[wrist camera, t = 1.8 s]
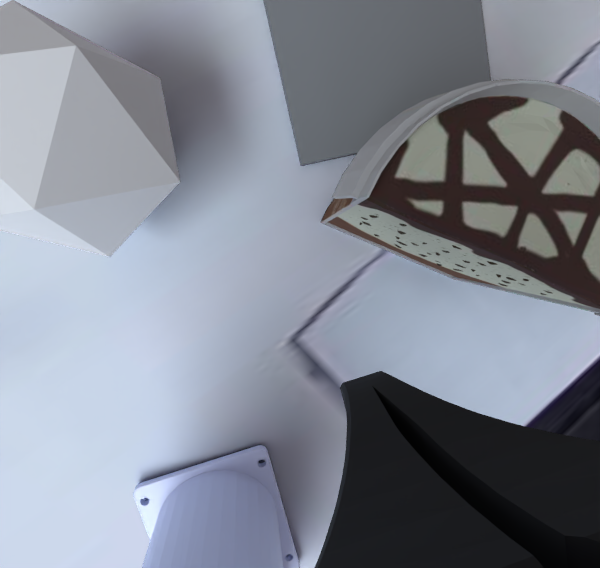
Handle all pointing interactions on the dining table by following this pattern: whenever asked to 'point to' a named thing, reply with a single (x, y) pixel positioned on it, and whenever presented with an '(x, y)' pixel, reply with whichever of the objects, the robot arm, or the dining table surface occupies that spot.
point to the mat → (369, 64)
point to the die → (77, 137)
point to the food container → (486, 189)
